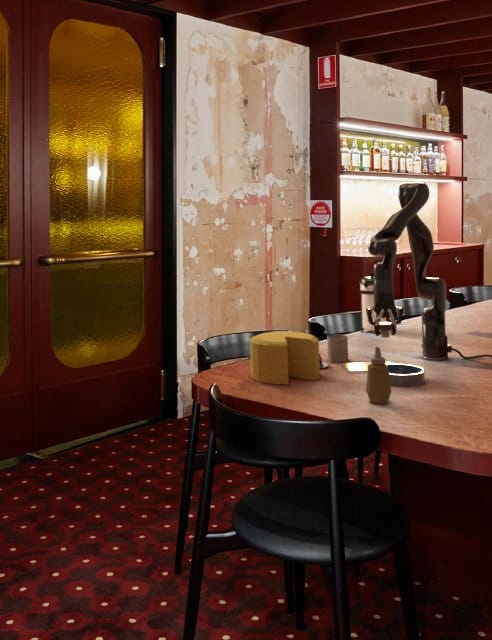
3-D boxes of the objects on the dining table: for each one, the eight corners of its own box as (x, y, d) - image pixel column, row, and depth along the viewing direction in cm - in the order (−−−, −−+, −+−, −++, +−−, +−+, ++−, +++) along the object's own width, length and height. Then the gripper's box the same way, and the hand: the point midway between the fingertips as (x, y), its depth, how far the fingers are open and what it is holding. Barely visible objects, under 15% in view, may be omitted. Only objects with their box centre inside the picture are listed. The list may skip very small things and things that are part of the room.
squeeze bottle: (363, 399, 241) (361, 345, 241) (386, 397, 241) (385, 344, 242) (371, 405, 233) (369, 349, 233) (395, 404, 233) (393, 348, 233)
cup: (348, 362, 294) (347, 338, 294) (327, 362, 296) (327, 338, 296) (348, 358, 302) (347, 334, 302) (328, 358, 304) (327, 334, 304)
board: (392, 364, 290) (392, 361, 290) (402, 372, 276) (402, 369, 276) (342, 365, 290) (342, 362, 290) (350, 373, 276) (350, 371, 276)
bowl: (416, 375, 270) (415, 363, 271) (431, 387, 253) (430, 374, 253) (370, 376, 271) (369, 364, 271) (382, 388, 253) (381, 375, 253)
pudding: (292, 365, 292) (292, 352, 292) (317, 362, 297) (317, 349, 297) (308, 371, 281) (308, 358, 281) (334, 368, 286) (333, 354, 286)
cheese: (312, 386, 258) (311, 344, 258) (242, 382, 267) (241, 341, 267) (325, 370, 283) (324, 331, 283) (260, 366, 292) (259, 329, 292)
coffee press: (395, 333, 355) (393, 272, 355) (362, 334, 355) (360, 273, 355) (385, 327, 372) (384, 269, 372) (354, 328, 372) (353, 270, 372)
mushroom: (390, 335, 275) (389, 321, 275) (394, 338, 270) (394, 324, 270) (376, 335, 275) (375, 322, 275) (380, 338, 270) (379, 324, 270)
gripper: (367, 292, 269) (368, 338, 269) (405, 291, 269) (407, 336, 269) (362, 290, 276) (363, 334, 276) (399, 288, 276) (401, 332, 276)
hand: (385, 335), depth 273 cm, fingers closed on mushroom, 5 cm apart
